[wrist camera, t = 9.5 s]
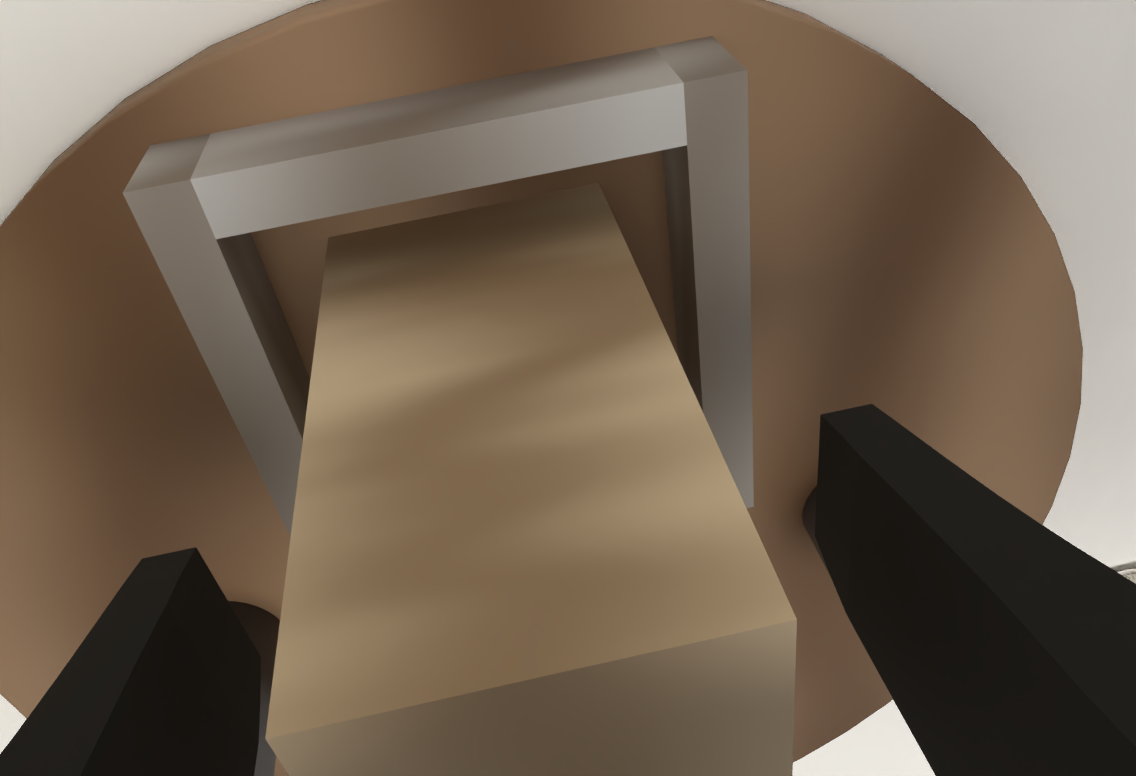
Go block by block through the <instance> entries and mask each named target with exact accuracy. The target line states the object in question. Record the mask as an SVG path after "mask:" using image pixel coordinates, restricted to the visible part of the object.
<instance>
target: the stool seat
mask: <svg viewBox="0 0 1136 776" xmlns="http://www.w3.org/2000/svg"><path fill="white" fill-rule="evenodd" d="M596 183H599V185H600V187H601V189H602V191H603V194H604V196H605V198H606V200H607V202H608V205H609V207H610V209H611V211H612V213H613V216H614V218H615V220H616V222H617V224H618V227H619V229H620V231H621V233H622V235H623V238H624V240H625V242H626V244H627V246H628V249H629V251H630V253H631V255H632V257H633V260H634V262H635V264H636V266H637V268H638V271H639V273H640V275H641V277H642V279H643V282H644V284H645V286H646V288H647V290H648V293H649V295H650V297H651V299H652V301H653V304H654V306H655V308H656V310H657V312H658V315H659V317H660V319H661V321H662V323H663V326H664V328H665V330H666V332H667V334H668V337H669V339H670V341H671V343H672V345H673V348H674V350H675V352H676V354H677V356H678V359H679V361H680V363H681V365H682V367H683V370H684V372H685V374H686V376H687V378H688V381H689V383H690V385H691V387H692V389H693V392H694V394H695V396H696V398H697V400H698V403H699V405H700V407H701V409H702V411H703V414H704V416H705V418H706V420H707V422H708V425H709V427H710V429H711V431H712V433H713V436H714V438H715V440H716V442H717V445H718V447H719V449H720V451H721V453H722V456H723V458H724V460H725V462H726V464H727V467H728V469H729V471H730V473H731V475H732V478H733V480H734V482H735V484H736V486H737V489H738V491H739V493H740V495H741V497H742V500H743V502H744V504H745V506H746V508H747V511H748V513H749V515H750V517H751V519H752V522H753V524H754V526H755V528H756V530H757V533H758V535H759V537H760V539H761V541H762V544H763V546H764V548H765V550H766V552H767V555H768V557H769V559H770V561H771V563H772V566H773V568H774V570H775V572H776V574H777V577H778V579H779V581H780V583H781V585H782V588H783V590H784V592H785V594H786V596H787V599H788V601H789V603H790V605H791V607H792V610H793V612H794V614H795V616H796V618H797V635H796V668H795V700H794V733H793V762H795V761H797V760H799V759H801V758H802V757H804V756H806V755H808V754H809V753H811V752H813V751H814V750H816V749H818V748H820V747H821V746H823V745H825V744H826V743H828V742H830V741H832V740H833V739H835V738H837V737H838V736H840V735H842V734H844V733H845V732H847V731H848V730H850V729H851V728H853V727H854V726H856V725H857V724H858V723H860V722H861V721H863V720H864V719H866V718H867V717H869V716H870V715H872V714H873V713H874V712H876V711H877V710H879V709H880V708H882V707H883V706H885V705H886V704H888V703H889V702H890V701H891V700H892V699H893V698H892V696H891V694H890V693H889V691H888V689H887V687H886V685H885V684H884V682H883V680H882V678H881V676H880V675H879V673H878V671H877V669H876V667H875V666H874V664H873V662H872V660H871V658H870V657H869V655H868V653H867V651H866V649H865V647H864V646H863V644H862V642H861V640H860V638H859V636H858V635H857V633H856V631H855V629H854V627H853V625H852V624H851V622H850V620H849V618H848V616H847V614H846V612H845V610H844V607H843V605H842V603H841V600H840V598H839V596H838V593H837V591H836V588H835V586H834V584H833V581H832V579H831V576H830V574H829V571H828V569H827V566H826V564H825V561H824V558H823V556H822V553H821V551H820V548H819V546H818V543H817V541H816V538H815V519H816V498H817V477H818V456H819V435H820V415H821V414H825V413H830V412H835V411H840V410H844V409H849V408H854V407H858V406H863V405H868V404H873V405H875V406H876V407H877V408H879V409H880V410H881V411H883V412H884V413H886V414H887V415H888V416H890V417H891V418H892V419H894V420H895V421H897V422H898V423H899V424H901V425H902V426H903V427H905V428H906V429H908V430H909V431H910V432H912V433H913V434H914V435H916V436H917V437H918V438H920V439H921V440H923V441H924V442H925V443H927V444H928V445H929V446H931V447H932V448H933V449H935V450H936V451H938V452H939V453H940V454H942V455H943V456H944V457H946V458H947V459H948V460H950V461H951V462H953V463H954V464H955V465H957V466H958V467H960V468H961V469H962V470H964V471H965V472H966V473H968V474H969V475H971V476H972V477H973V478H975V479H976V480H978V481H979V482H980V483H982V484H983V485H985V486H986V487H988V488H989V489H990V490H992V491H993V492H995V493H996V494H997V495H999V496H1000V497H1002V498H1003V499H1005V500H1006V501H1008V502H1009V503H1011V504H1012V505H1014V506H1015V507H1017V508H1018V509H1019V510H1021V511H1022V512H1024V513H1025V514H1027V515H1028V516H1030V517H1031V518H1033V519H1034V520H1036V521H1037V522H1039V523H1040V524H1043V522H1044V520H1045V518H1046V517H1047V515H1048V513H1049V511H1050V509H1051V507H1052V505H1053V502H1054V499H1055V496H1056V494H1057V491H1058V488H1059V485H1060V483H1061V480H1062V477H1063V474H1064V472H1065V469H1066V466H1067V463H1068V461H1069V458H1070V454H1071V449H1072V444H1073V439H1074V434H1075V429H1076V424H1077V420H1078V415H1079V410H1080V405H1081V381H1082V354H1083V348H1082V341H1081V334H1080V327H1079V320H1078V313H1077V306H1076V299H1075V292H1074V289H1073V286H1072V283H1071V280H1070V277H1069V275H1068V272H1067V269H1066V266H1065V263H1064V260H1063V257H1062V254H1061V251H1060V249H1059V246H1058V243H1057V240H1056V237H1055V234H1054V232H1053V231H1052V229H1051V227H1050V226H1049V224H1048V222H1047V220H1046V219H1045V217H1044V215H1043V214H1042V212H1041V210H1040V208H1039V207H1038V205H1037V203H1036V202H1035V200H1034V198H1033V196H1032V195H1031V193H1030V191H1029V190H1028V188H1027V186H1026V184H1025V183H1024V181H1023V179H1022V178H1021V176H1020V175H1019V174H1018V173H1017V172H1016V171H1015V170H1014V168H1013V167H1012V166H1011V165H1010V164H1009V163H1008V162H1007V161H1006V159H1005V158H1004V157H1003V156H1002V155H1001V154H1000V153H999V151H998V150H997V149H996V148H995V147H994V146H993V145H992V143H991V142H990V141H989V140H988V139H987V138H986V137H985V136H984V134H983V133H982V132H981V131H980V130H979V129H978V128H977V126H976V125H975V124H974V123H973V122H971V121H970V120H969V119H968V118H966V117H965V116H964V115H962V114H961V113H960V112H959V111H957V110H956V109H955V108H953V107H952V106H951V105H950V104H948V103H947V102H946V101H945V100H943V99H942V98H941V97H939V96H938V95H937V94H936V93H934V92H933V91H932V90H930V89H929V88H928V87H927V86H925V85H924V84H923V83H921V82H920V81H919V80H918V79H916V78H915V77H914V76H913V75H911V74H910V73H908V72H907V71H905V70H904V69H902V68H901V67H899V66H898V65H896V64H895V63H893V62H892V61H890V60H889V59H887V58H886V57H884V56H883V55H881V54H880V53H878V52H876V51H874V50H872V49H870V48H868V47H867V46H865V45H863V44H861V43H859V42H857V41H855V40H853V39H852V38H850V37H848V36H846V35H844V34H842V33H840V32H838V31H836V30H835V29H833V28H831V27H829V26H827V25H825V24H823V23H821V22H820V21H818V20H816V19H814V18H812V17H810V16H808V15H806V14H804V13H801V12H798V11H795V10H792V9H789V8H786V7H783V6H780V5H777V4H774V3H771V2H768V1H766V0H323V1H319V2H316V3H312V4H308V5H305V6H303V7H301V8H298V9H296V10H294V11H291V12H289V13H287V14H284V15H282V16H280V17H277V18H275V19H273V20H270V21H268V22H266V23H263V24H261V25H259V26H256V27H254V28H252V29H249V30H247V31H245V32H242V33H240V34H238V35H235V36H233V37H230V38H228V39H226V40H223V41H221V42H219V43H216V44H214V45H212V46H210V47H208V48H207V49H205V50H203V51H202V52H200V53H198V54H197V55H195V56H194V57H192V58H190V59H189V60H187V61H186V62H184V63H182V64H181V65H179V66H177V67H176V68H174V69H173V70H171V71H169V72H168V73H166V74H165V75H163V76H161V77H160V78H158V79H156V80H155V81H153V82H152V83H150V84H148V85H147V86H145V87H144V88H142V89H140V90H139V91H137V92H135V93H134V94H132V95H131V96H129V97H127V98H126V99H124V100H123V101H122V102H121V103H120V104H119V105H117V106H116V107H115V108H114V109H113V110H112V111H111V112H109V113H108V114H107V115H106V116H105V117H104V118H102V119H101V120H100V121H99V122H98V123H97V124H96V125H94V126H93V127H92V128H91V129H90V130H89V131H87V132H86V133H85V134H84V135H83V136H82V137H81V138H79V139H78V140H77V141H76V142H75V143H74V144H72V145H71V146H70V147H69V148H68V149H67V150H66V151H64V152H63V153H62V154H61V155H60V156H59V157H57V158H56V159H55V160H54V161H53V162H52V164H51V165H50V166H49V167H48V168H47V170H46V171H45V172H44V173H43V175H42V176H41V177H40V178H39V179H38V181H37V182H36V183H35V184H34V186H33V187H32V188H31V189H30V190H29V192H28V193H27V194H26V195H25V197H24V198H23V199H22V200H21V201H20V203H19V204H18V205H17V206H16V208H15V209H14V210H13V211H12V212H11V214H10V215H9V216H8V217H7V219H6V220H5V221H4V222H3V223H2V225H1V226H0V694H1V695H2V696H3V697H4V698H5V699H6V700H7V701H9V702H10V703H11V704H12V705H13V706H14V707H15V708H16V709H17V710H18V711H19V712H20V713H21V714H23V715H24V716H25V717H26V718H28V717H29V715H30V714H31V713H32V711H33V710H34V708H35V707H36V706H37V704H38V703H39V702H40V700H41V699H42V697H43V696H44V695H45V693H46V692H47V691H48V689H49V688H50V686H51V685H52V684H53V682H54V681H55V680H56V678H57V677H58V675H59V674H60V673H61V671H62V670H63V669H64V667H65V666H66V664H67V663H68V662H69V660H70V659H71V657H72V656H73V655H74V653H75V652H76V650H77V649H78V647H79V646H80V645H81V643H82V642H83V640H84V639H85V638H86V636H87V635H88V633H89V632H90V630H91V629H92V628H93V626H94V625H95V623H96V622H97V620H98V619H99V618H100V616H101V615H102V613H103V612H104V610H105V609H106V608H107V606H108V605H109V603H110V602H111V601H112V599H113V598H114V596H115V595H116V593H117V592H118V591H119V589H120V588H121V586H122V585H123V584H124V582H125V581H126V580H127V578H128V577H129V575H130V574H131V573H132V571H133V570H134V569H135V567H136V566H137V565H138V563H139V562H140V561H141V559H142V558H147V557H152V556H157V555H161V554H166V553H171V552H175V551H180V550H185V549H189V548H194V547H196V548H197V549H198V551H199V553H200V554H201V556H202V558H203V560H204V561H205V563H206V565H207V566H208V568H209V570H210V571H211V573H212V575H213V576H214V578H215V580H216V582H217V583H218V585H219V587H220V588H221V590H222V592H223V593H224V595H225V597H226V598H227V600H228V602H229V604H230V605H231V607H232V609H233V610H234V612H235V614H236V615H237V617H238V619H239V620H240V622H241V624H242V626H243V627H244V629H245V631H246V632H247V634H248V636H249V637H250V639H251V641H252V642H253V644H254V646H255V648H256V649H257V651H258V653H259V654H260V656H261V687H260V723H259V744H258V752H257V759H256V766H255V773H254V776H289V775H288V773H287V772H286V770H285V768H284V767H283V765H282V764H281V762H280V761H279V759H278V758H277V756H276V755H275V753H274V752H273V750H272V748H271V747H270V745H269V744H268V742H267V741H266V739H265V736H266V729H267V721H268V713H269V705H270V697H271V689H272V681H273V673H274V665H275V657H276V649H277V641H278V633H279V625H280V617H281V609H282V601H283V594H284V586H285V578H286V570H287V562H288V554H289V546H290V538H291V530H292V522H293V514H294V506H295V498H296V490H297V482H298V474H299V466H300V459H301V451H302V443H303V435H304V427H305V419H306V411H307V403H308V395H309V387H310V379H311V371H312V363H313V355H314V347H315V339H316V331H317V324H318V316H319V308H320V300H321V292H322V284H323V276H324V268H325V260H326V252H327V244H328V237H333V236H338V235H343V234H348V233H353V232H358V231H363V230H368V229H373V228H378V227H383V226H387V225H392V224H397V223H402V222H407V221H412V220H417V219H422V218H427V217H432V216H437V215H442V214H447V213H452V212H457V211H462V210H467V209H472V208H477V207H482V206H487V205H492V204H497V203H502V202H507V201H511V200H516V199H521V198H526V197H531V196H536V195H541V194H546V193H551V192H556V191H561V190H566V189H571V188H576V187H581V186H586V185H591V184H596Z"/></svg>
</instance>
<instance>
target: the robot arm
mask: <svg viewBox="0 0 1136 776" xmlns="http://www.w3.org/2000/svg"><path fill="white" fill-rule="evenodd" d="M815 538H816V541H817V543H818V546H819V548H820V551H821V553H822V556H823V558H824V561H825V564H826V566H827V569H828V571H829V574H830V576H831V579H832V581H833V584H834V586H835V588H836V591H837V593H838V596H839V598H840V600H841V603H842V605H843V607H844V610H845V612H846V614H847V616H848V618H849V620H850V622H851V624H852V625H853V627H854V629H855V631H856V633H857V635H858V636H859V638H860V640H861V642H862V644H863V646H864V647H865V649H866V651H867V653H868V655H869V657H870V658H871V660H872V662H873V664H874V666H875V667H876V669H877V671H878V673H879V675H880V676H881V678H882V680H883V682H884V684H885V685H886V687H887V689H888V691H889V693H890V694H891V696H892V698H893V700H894V702H895V703H896V705H897V707H898V709H899V711H900V712H901V714H902V716H903V718H904V719H905V721H906V723H907V725H908V727H909V728H910V730H911V732H912V734H913V736H914V737H915V739H916V741H917V743H918V745H919V746H920V748H921V750H922V752H923V754H924V755H925V757H926V759H927V761H928V763H929V764H930V766H931V768H932V770H933V771H934V773H935V775H936V776H1136V584H1135V583H1134V582H1132V581H1131V580H1129V579H1127V578H1126V577H1124V576H1122V575H1121V574H1119V573H1117V572H1116V571H1114V570H1113V569H1111V568H1109V567H1108V566H1106V565H1104V564H1103V563H1101V562H1100V561H1098V560H1096V559H1095V558H1093V557H1091V556H1090V555H1088V554H1086V553H1085V552H1083V551H1082V550H1080V549H1078V548H1077V547H1075V546H1074V545H1072V544H1070V543H1069V542H1067V541H1066V540H1064V539H1063V538H1061V537H1060V536H1058V535H1057V534H1055V533H1053V532H1052V531H1050V530H1049V529H1047V528H1046V527H1044V526H1043V525H1042V524H1040V523H1039V522H1037V521H1036V520H1034V519H1033V518H1031V517H1030V516H1028V515H1027V514H1025V513H1024V512H1022V511H1021V510H1019V509H1018V508H1017V507H1015V506H1014V505H1012V504H1011V503H1009V502H1008V501H1006V500H1005V499H1003V498H1002V497H1000V496H999V495H997V494H996V493H995V492H993V491H992V490H990V489H989V488H988V487H986V486H985V485H983V484H982V483H980V482H979V481H978V480H976V479H975V478H973V477H972V476H971V475H969V474H968V473H966V472H965V471H964V470H962V469H961V468H960V467H958V466H957V465H955V464H954V463H953V462H951V461H950V460H948V459H947V458H946V457H944V456H943V455H942V454H940V453H939V452H938V451H936V450H935V449H933V448H932V447H931V446H929V445H928V444H927V443H925V442H924V441H923V440H921V439H920V438H918V437H917V436H916V435H914V434H913V433H912V432H910V431H909V430H908V429H906V428H905V427H903V426H902V425H901V424H899V423H898V422H897V421H895V420H894V419H892V418H891V417H890V416H888V415H887V414H886V413H884V412H883V411H881V410H880V409H879V408H877V407H876V406H875V405H873V404H868V405H863V406H858V407H854V408H849V409H844V410H840V411H835V412H830V413H825V414H821V415H820V435H819V456H818V477H817V498H816V519H815ZM260 687H261V656H260V654H259V653H258V651H257V649H256V648H255V646H254V644H253V642H252V641H251V639H250V637H249V636H248V634H247V632H246V631H245V629H244V627H243V626H242V624H241V622H240V620H239V619H238V617H237V615H236V614H235V612H234V610H233V609H232V607H231V605H230V604H229V602H228V600H227V598H226V597H225V595H224V593H223V592H222V590H221V588H220V587H219V585H218V583H217V582H216V580H215V578H214V576H213V575H212V573H211V571H210V570H209V568H208V566H207V565H206V563H205V561H204V560H203V558H202V556H201V554H200V553H199V551H198V549H197V548H196V547H194V548H189V549H185V550H180V551H175V552H171V553H166V554H161V555H157V556H152V557H147V558H142V559H141V561H140V562H139V563H138V565H137V566H136V567H135V569H134V570H133V571H132V573H131V574H130V575H129V577H128V578H127V580H126V581H125V582H124V584H123V585H122V586H121V588H120V589H119V591H118V592H117V593H116V595H115V596H114V598H113V599H112V601H111V602H110V603H109V605H108V606H107V608H106V609H105V610H104V612H103V613H102V615H101V616H100V618H99V619H98V620H97V622H96V623H95V625H94V626H93V628H92V629H91V630H90V632H89V633H88V635H87V636H86V638H85V639H84V640H83V642H82V643H81V645H80V646H79V647H78V649H77V650H76V652H75V653H74V655H73V656H72V657H71V659H70V660H69V662H68V663H67V664H66V666H65V667H64V669H63V670H62V671H61V673H60V674H59V675H58V677H57V678H56V680H55V681H54V682H53V684H52V685H51V686H50V688H49V689H48V691H47V692H46V693H45V695H44V696H43V697H42V699H41V700H40V702H39V703H38V704H37V706H36V707H35V708H34V710H33V711H32V713H31V714H30V715H29V717H28V718H27V719H26V721H25V722H24V724H23V725H22V726H21V728H20V729H19V730H18V732H17V733H16V735H15V736H14V737H13V739H12V740H11V741H10V742H9V744H8V745H7V746H6V748H5V749H4V750H3V751H2V753H1V754H0V776H254V773H255V766H256V759H257V752H258V744H259V723H260Z"/></svg>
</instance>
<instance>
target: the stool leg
mask: <svg viewBox="0 0 1136 776" xmlns="http://www.w3.org/2000/svg"><path fill="white" fill-rule="evenodd" d="M796 635H797V618H796V616H795V614H794V612H793V610H792V607H791V605H790V603H789V601H788V599H787V596H786V594H785V592H784V590H783V588H782V585H781V583H780V581H779V579H778V577H777V574H776V572H775V570H774V568H773V566H772V563H771V561H770V559H769V557H768V555H767V552H766V550H765V548H764V546H763V544H762V541H761V539H760V537H759V535H758V533H757V530H756V528H755V526H754V524H753V522H752V519H751V517H750V515H749V513H748V511H747V508H746V506H745V504H744V502H743V500H742V497H741V495H740V493H739V491H738V489H737V486H736V484H735V482H734V480H733V478H732V475H731V473H730V471H729V469H728V467H727V464H726V462H725V460H724V458H723V456H722V453H721V451H720V449H719V447H718V445H717V442H716V440H715V438H714V436H713V433H712V431H711V429H710V427H709V425H708V422H707V420H706V418H705V416H704V414H703V411H702V409H701V407H700V405H699V403H698V400H697V398H696V396H695V394H694V392H693V389H692V387H691V385H690V383H689V381H688V378H687V376H686V374H685V372H684V370H683V367H682V365H681V363H680V361H679V359H678V356H677V354H676V352H675V350H674V348H673V345H672V343H671V341H670V339H669V337H668V334H667V332H666V330H665V328H664V326H663V323H662V321H661V319H660V317H659V315H658V312H657V310H656V308H655V306H654V304H653V301H652V299H651V297H650V295H649V293H648V290H647V288H646V286H645V284H644V282H643V279H642V277H641V275H640V273H639V271H638V268H637V266H636V264H635V262H634V260H633V257H632V255H631V253H630V251H629V249H628V246H627V244H626V242H625V240H624V238H623V235H622V233H621V231H620V229H619V227H618V224H617V222H616V220H615V218H614V216H613V213H612V211H611V209H610V207H609V205H608V202H607V200H606V198H605V196H604V194H603V191H602V189H601V187H600V185H599V183H596V184H591V185H586V186H581V187H576V188H571V189H566V190H561V191H556V192H551V193H546V194H541V195H536V196H531V197H526V198H521V199H516V200H511V201H507V202H502V203H497V204H492V205H487V206H482V207H477V208H472V209H467V210H462V211H457V212H452V213H447V214H442V215H437V216H432V217H427V218H422V219H417V220H412V221H407V222H402V223H397V224H392V225H387V226H383V227H378V228H373V229H368V230H363V231H358V232H353V233H348V234H343V235H338V236H333V237H328V244H327V252H326V260H325V268H324V276H323V284H322V292H321V300H320V308H319V316H318V324H317V331H316V339H315V347H314V355H313V363H312V371H311V379H310V387H309V395H308V403H307V411H306V419H305V427H304V435H303V443H302V451H301V459H300V466H299V474H298V482H297V490H296V498H295V506H294V514H293V522H292V530H291V538H290V546H289V554H288V562H287V570H286V578H285V586H284V594H283V601H282V609H281V617H280V625H279V633H278V641H277V649H276V657H275V665H274V673H273V681H272V689H271V697H270V705H269V713H268V721H267V729H266V736H265V739H266V741H267V742H268V744H269V745H270V747H271V748H272V750H273V752H274V753H275V755H276V756H277V758H278V759H279V761H280V762H281V764H282V765H283V767H284V768H285V770H286V772H287V773H288V775H289V776H792V765H793V733H794V700H795V668H796Z"/></svg>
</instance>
